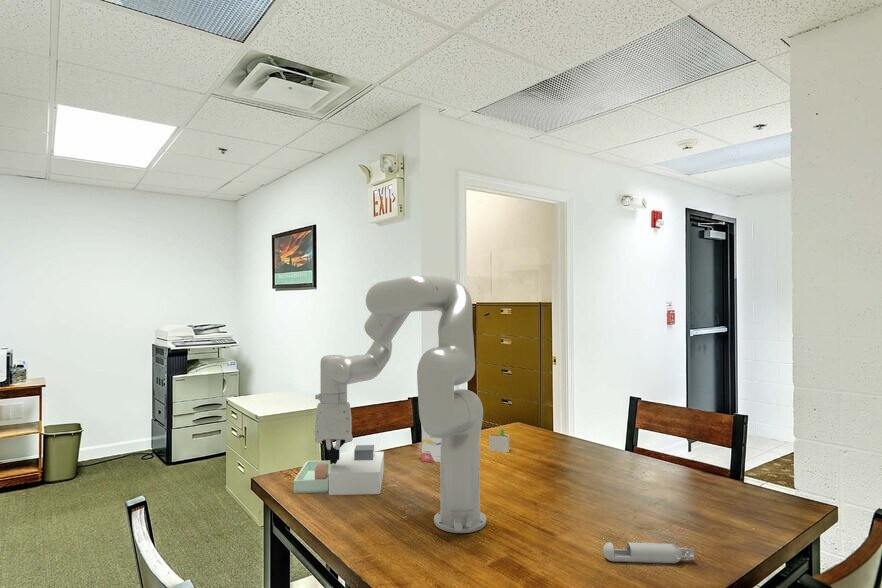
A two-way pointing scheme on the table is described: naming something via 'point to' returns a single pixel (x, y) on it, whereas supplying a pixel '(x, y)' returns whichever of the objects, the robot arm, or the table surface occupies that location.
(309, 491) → the green bin
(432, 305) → the robot arm
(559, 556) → the table surface
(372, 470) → the white box
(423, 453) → the ink cartridge box
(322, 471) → the terracotta tile
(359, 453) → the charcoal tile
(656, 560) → the slotted grey cylinder
